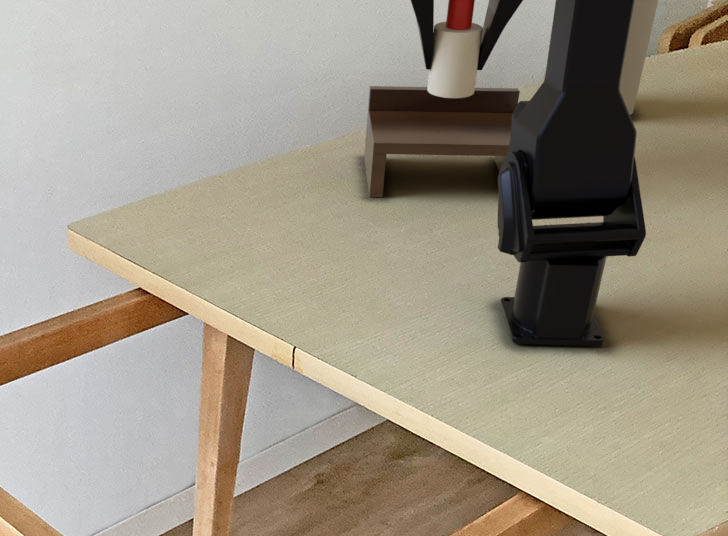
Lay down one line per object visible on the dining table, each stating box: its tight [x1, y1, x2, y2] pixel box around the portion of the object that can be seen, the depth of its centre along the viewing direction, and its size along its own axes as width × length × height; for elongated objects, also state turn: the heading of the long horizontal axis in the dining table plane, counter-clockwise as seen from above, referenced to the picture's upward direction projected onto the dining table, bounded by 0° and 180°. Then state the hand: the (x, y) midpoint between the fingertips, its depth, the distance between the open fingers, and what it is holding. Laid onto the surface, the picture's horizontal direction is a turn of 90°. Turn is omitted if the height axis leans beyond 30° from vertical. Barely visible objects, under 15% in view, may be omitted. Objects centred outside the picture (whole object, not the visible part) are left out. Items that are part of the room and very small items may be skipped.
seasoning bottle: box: [427, 0, 483, 98], centre depth 95 cm, size 4×4×8 cm
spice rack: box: [363, 85, 521, 198], centre depth 100 cm, size 10×14×7 cm
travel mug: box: [620, 0, 659, 116], centre depth 113 cm, size 8×8×18 cm
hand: (453, 68), depth 96 cm, fingers closed on seasoning bottle, 4 cm apart
